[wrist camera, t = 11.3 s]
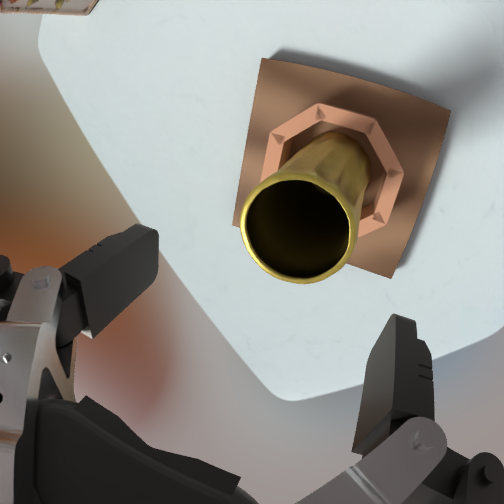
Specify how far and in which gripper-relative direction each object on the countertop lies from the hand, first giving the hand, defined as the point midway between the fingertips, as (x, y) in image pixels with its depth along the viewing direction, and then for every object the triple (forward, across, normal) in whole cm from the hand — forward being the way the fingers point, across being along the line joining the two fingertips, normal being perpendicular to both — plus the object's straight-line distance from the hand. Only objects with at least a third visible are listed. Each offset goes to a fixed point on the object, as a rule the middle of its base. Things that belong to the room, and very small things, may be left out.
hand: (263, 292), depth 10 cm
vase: (+19, 0, 0) cm, 19 cm away
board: (+20, 0, 0) cm, 20 cm away
